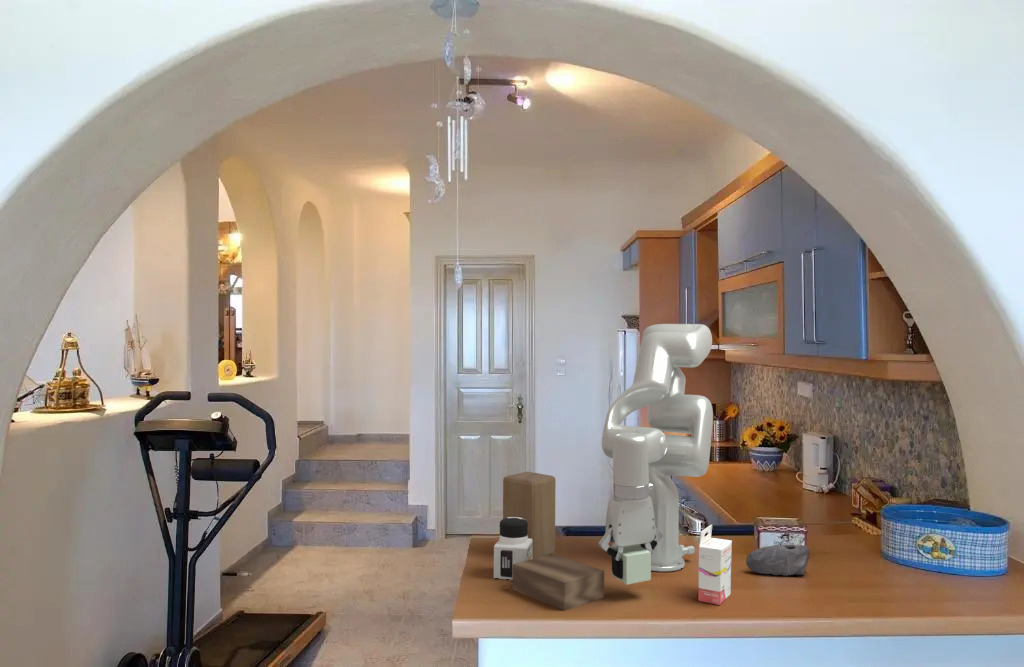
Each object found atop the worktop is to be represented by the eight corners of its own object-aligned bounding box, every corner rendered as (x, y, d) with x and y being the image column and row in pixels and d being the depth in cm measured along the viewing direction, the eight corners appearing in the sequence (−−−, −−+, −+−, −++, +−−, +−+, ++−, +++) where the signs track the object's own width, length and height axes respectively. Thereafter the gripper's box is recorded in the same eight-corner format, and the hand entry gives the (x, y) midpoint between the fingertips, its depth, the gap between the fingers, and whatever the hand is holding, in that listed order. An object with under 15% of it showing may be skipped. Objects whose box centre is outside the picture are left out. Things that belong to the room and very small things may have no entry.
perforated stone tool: (748, 577, 176) (748, 547, 176) (743, 569, 182) (743, 540, 182) (814, 579, 175) (815, 549, 175) (807, 572, 180) (808, 543, 180)
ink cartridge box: (721, 606, 157) (721, 535, 157) (697, 601, 160) (698, 531, 160) (732, 593, 165) (732, 526, 165) (709, 589, 167) (710, 523, 167)
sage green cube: (635, 570, 167) (635, 543, 167) (650, 579, 161) (650, 552, 161) (611, 575, 165) (611, 547, 164) (626, 584, 159) (626, 556, 159)
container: (526, 581, 172) (527, 524, 171) (493, 579, 173) (493, 522, 173) (532, 571, 179) (533, 516, 179) (500, 568, 181) (501, 514, 181)
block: (500, 555, 191) (501, 475, 191) (526, 546, 199) (526, 470, 199) (531, 563, 185) (532, 481, 185) (556, 554, 193) (557, 475, 192)
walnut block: (551, 579, 174) (552, 553, 174) (604, 598, 162) (604, 570, 162) (512, 591, 166) (512, 564, 166) (564, 612, 154) (564, 582, 154)
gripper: (654, 482, 169) (654, 562, 170) (586, 491, 162) (587, 574, 163) (674, 490, 162) (674, 573, 163) (604, 500, 155) (605, 586, 156)
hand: (631, 573), depth 163 cm, fingers closed on sage green cube, 6 cm apart
